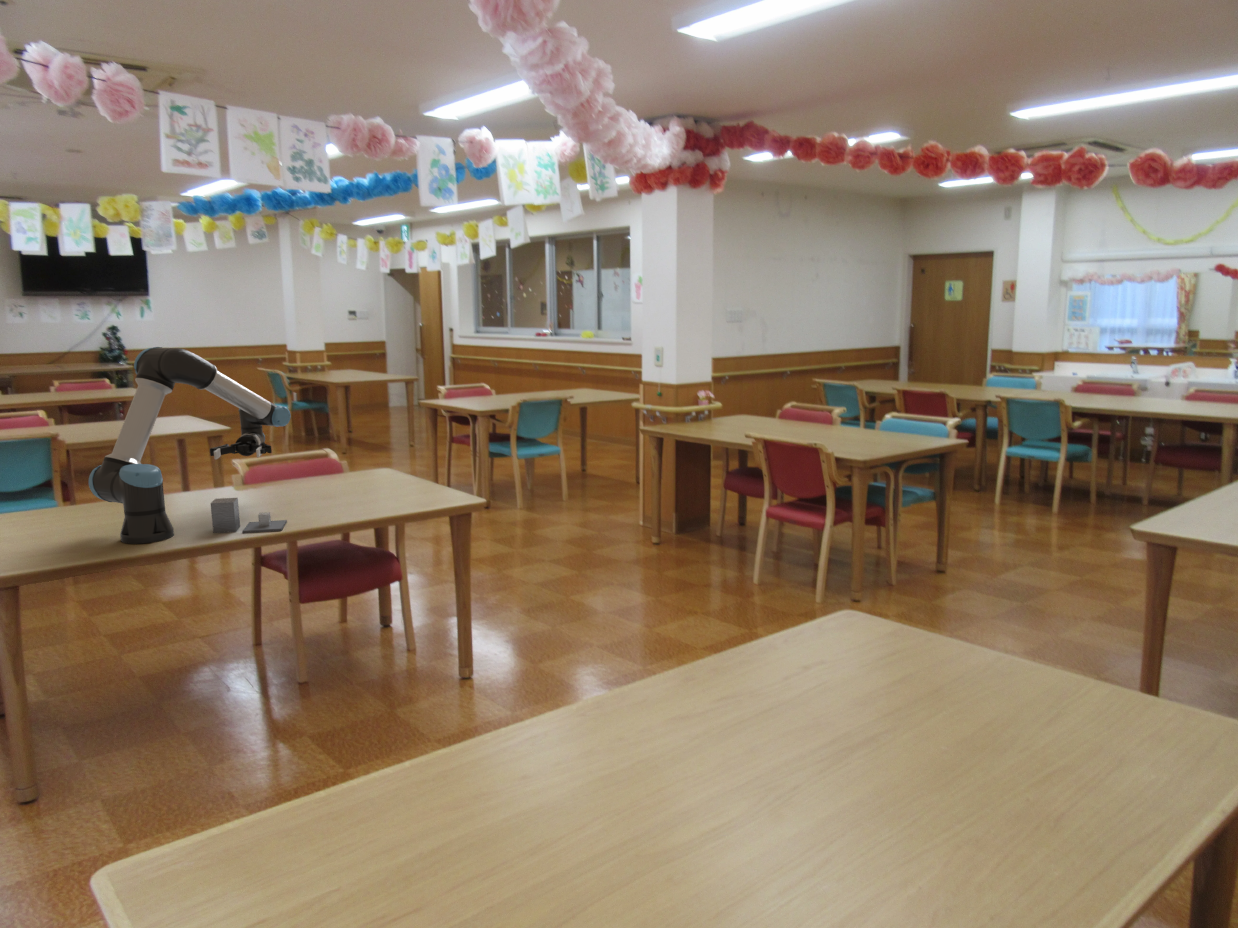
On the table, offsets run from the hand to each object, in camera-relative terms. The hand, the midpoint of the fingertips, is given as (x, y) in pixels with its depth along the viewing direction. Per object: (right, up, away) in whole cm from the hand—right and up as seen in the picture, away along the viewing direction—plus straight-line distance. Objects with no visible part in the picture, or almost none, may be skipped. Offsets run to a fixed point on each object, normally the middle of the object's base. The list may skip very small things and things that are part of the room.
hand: (236, 454), depth 302 cm
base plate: (+13, -24, -8) cm, 29 cm away
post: (+13, -24, -8) cm, 29 cm away
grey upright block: (+1, -25, -10) cm, 27 cm away
